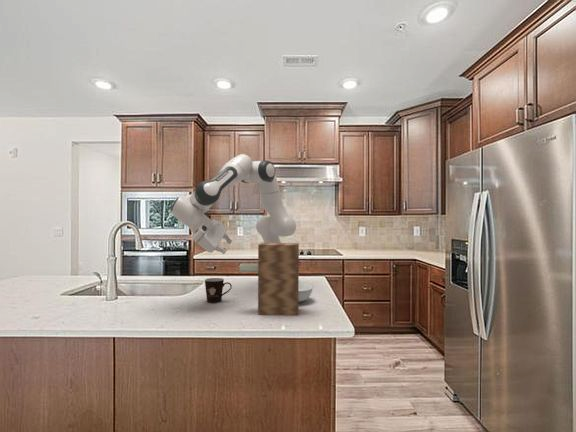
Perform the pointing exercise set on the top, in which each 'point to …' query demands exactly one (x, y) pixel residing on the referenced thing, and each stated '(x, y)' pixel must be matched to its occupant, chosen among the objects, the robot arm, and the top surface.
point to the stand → (278, 278)
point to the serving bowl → (304, 291)
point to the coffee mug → (215, 289)
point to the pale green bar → (248, 268)
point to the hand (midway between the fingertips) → (228, 247)
